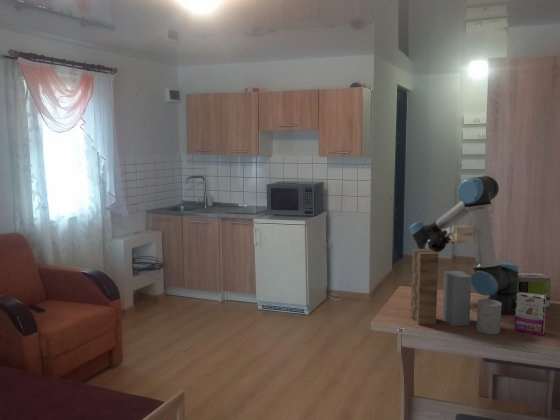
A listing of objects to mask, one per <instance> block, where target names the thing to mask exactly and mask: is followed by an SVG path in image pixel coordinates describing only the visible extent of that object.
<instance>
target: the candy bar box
mask: <svg viewBox="0 0 560 420" xmlns="http://www.w3.org/2000/svg"><path fill="white" fill-rule="evenodd" d="M546 308H547V307H546V295H540V294H533V293H525V292H518V293H517V294H516V311H515V314H514V315H515V317H514V331H515V332H519V331H520V332H519V333H525V332H526V334H530V333H532V334H531V335H536V334H538V336H541V335H543V336H544V334H545V332H546V331H545V325H546V324H545V323H546V311H547V309H546Z"/></svg>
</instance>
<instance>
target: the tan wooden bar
mask: <svg viewBox="0 0 560 420" xmlns="http://www.w3.org/2000/svg"><path fill="white" fill-rule="evenodd" d="M446 229H447V228H442V232H443V231H445V230H446ZM451 231H452V232H451V233H450V234H449V235H448V236H447V237H448V238H450V239H451V241H452V242H454V243H453V244H459V245H460V244H473V237H472V233H473V227H471V225H467V224H461V225H459V224H458V225H457V224H455V225H452V227H451Z"/></svg>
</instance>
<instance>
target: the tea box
mask: <svg viewBox="0 0 560 420" xmlns="http://www.w3.org/2000/svg"><path fill="white" fill-rule="evenodd" d="M551 281H552V280H551V277H549V276H547V275H546V274H544V273H542V272H541V273H540V272H529V273H528V272H519V273H518V283H517V293H518V292H525V293H533V294H540V295H546V308H550V303H551V302H550V301H551Z"/></svg>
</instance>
